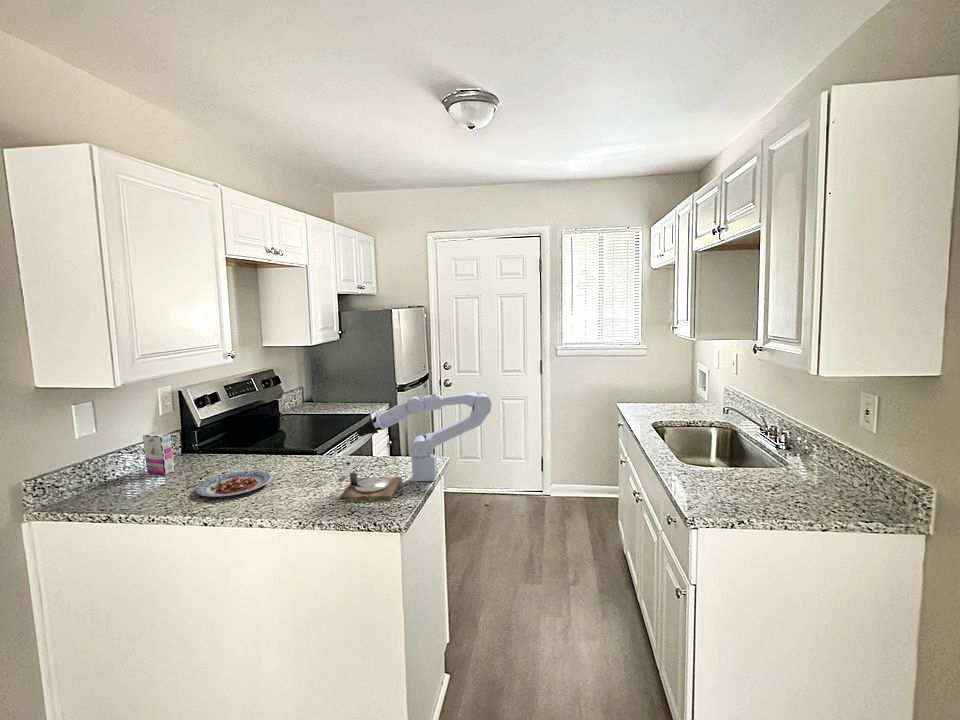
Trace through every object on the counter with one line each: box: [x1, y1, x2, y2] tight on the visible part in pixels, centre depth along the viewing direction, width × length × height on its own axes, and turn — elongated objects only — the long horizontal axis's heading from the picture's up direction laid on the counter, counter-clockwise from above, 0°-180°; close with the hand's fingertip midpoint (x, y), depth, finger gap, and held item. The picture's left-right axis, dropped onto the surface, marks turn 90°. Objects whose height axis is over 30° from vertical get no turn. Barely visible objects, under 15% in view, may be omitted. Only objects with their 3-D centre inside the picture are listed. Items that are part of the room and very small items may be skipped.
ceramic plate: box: [195, 470, 272, 498], centre depth 197 cm, size 26×26×3 cm
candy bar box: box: [142, 432, 176, 476], centre depth 217 cm, size 11×5×16 cm, turn 68°
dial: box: [348, 472, 389, 493], centre depth 187 cm, size 14×12×5 cm
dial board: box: [339, 476, 403, 501], centre depth 188 cm, size 18×18×2 cm
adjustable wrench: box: [339, 457, 365, 481], centre depth 212 cm, size 25×6×2 cm, turn 175°
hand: (360, 432), depth 194 cm, fingers open, 7 cm apart
